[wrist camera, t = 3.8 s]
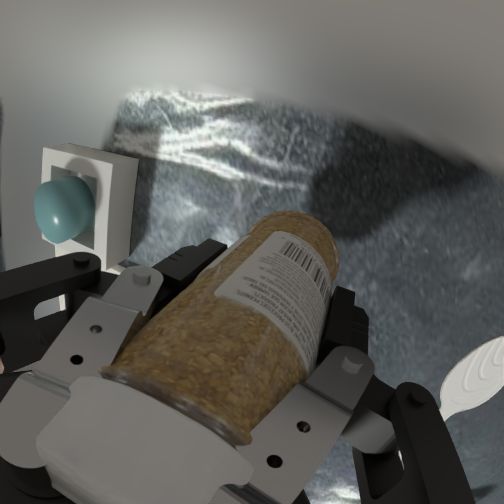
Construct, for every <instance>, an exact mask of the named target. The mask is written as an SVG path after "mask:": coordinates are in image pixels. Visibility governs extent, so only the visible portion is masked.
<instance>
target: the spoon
mask: <svg viewBox="0 0 504 504" xmlns="http://www.w3.org/2000/svg"><path fill="white" fill-rule="evenodd" d="M502 386H504V335H503V336H499V337H496V338H494V339H491V340H490V341H487V342H485V343H484V344H482V345H480V346H479V347H477V348H476V349H475V350H473V351H472V352H470V353H469V354H468V355H467V356H465V357H464V358H463V359H462V360H461V361H460V362H458V363H457V365H456V366H455V367H454V368H453V369H452V370H451V371H450V372H449V374H448V376H447V377H446V378H445V380H444V382H443V384H442V387H441V391H440V399H441V402H442V405H441V408H440V409H439V411H440V413H441V415H442V417H443V420H444V422H445V420H446V419H448V418H449V417H450V416H451V415H453V414H454V413H455V412H459V411H464V410H468V409H471V408H474V407H476V406H479V405H481V404H483V403H484V402H485V401H488V399H490V398H491V397H492V396H494V394H496V393H497V392H498V391H499V390H500V389H501V388H502ZM399 456H400V459H402V457H401V453H400V451H399Z"/></svg>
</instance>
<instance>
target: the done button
mask: <svg viewBox="0 0 504 504" xmlns="http://www.w3.org/2000/svg"><path fill="white" fill-rule="evenodd" d="M34 211H35V217H36V220H37V223H38V226H39V228H40V230H41V232H42V233H43V235H44V236H45V237H46V238H47V239H48V240H49V241H51V242H53V243H56V244H60V243H63V242H65V241H67V240H69V239H71V238H74V237H76V236H78V235H80V234H82V233H85V232H87V231H88V230H89V229H90V228H91V226H92V224H93V221H94V217H95V203H94V199H93V195H92V192H91V190H90V188H89V187H88V185H87V184H86V183H85V181H84V180H82V179H81V178H80V177H77V176H67V177H63V178H59V179H55V180H52V181H48V182H44V183H42V184H41V185H40V186H39V188H38V189H37V192H36V194H35V199H34Z"/></svg>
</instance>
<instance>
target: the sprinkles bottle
mask: <svg viewBox="0 0 504 504" xmlns="http://www.w3.org/2000/svg"><path fill="white" fill-rule="evenodd" d="M338 269H339V251H338V248H337V246H336V242H335V240H334V238H333V237H332V235H331V233H330V231H329V230H328V229H327V228H326V227H325V226H324V225H323V224H322V223H321V222H320V221H319V220H317V219H315V218H314V217H312V216H309V215H307V214H304V213H301V212H298V211H278V212H275V213H272V214H270V215H268V216H265V217H264V218H262V219H261V220H260V221H259V222H258V223H257V224H255V225H254V226H253V227H252V228H251V230H250V231H249V233H248V234H247V235H246V236H245V237H243V238H241V239H239V240H238V241H237V242H235V243H234V244H233V245H231V246H230V247H229V248H228V249H227V250H226V251H224V252H223V253H222V254H221V255H220V256H219V257H217V258H216V259H215V260H214V261H213V262H212V263H211V264H209V265H208V266H207V267H206V268H205V269H204V270H203V271H202V272H201V273H200V274H199V275H198V276H197V277H196V279H195V280H194V282H193V283H192V284H190V285H189V286H188V287H187V288H186V289H185V290H183V291H182V292H181V293H180V294H179V295H178V296H177V297H175V298H174V299H173V300H172V301H171V302H170V303H169V304H168V305H167V306H166V307H164V308H163V309H162V310H161V311H160V312H159V313H158V314H156V315H155V316H154V317H153V318H152V319H151V320H150V321H149V322H148V323H147V324H146V325H145V326H144V327H143V328H142V329H141V330H139V331H138V332H137V334H136V335H135V336H133V337H132V339H131V340H130V342H129V343H128V344H127V345H126V346H125V347H124V349H123V352H122V354H121V355H120V356H118V358H117V359H116V360H115V362H114V364H113V365H110V366H103V367H101V368H99V369H98V372H99V373H100V375H101V376H102V377H103V378H104V379H103V378H98V377H94V376H86V377H79V378H77V379H76V380H75V381H74V382H73V383H72V384H71V385H70V387H69V390H70V391H71V397H70V399H69V401H68V402H67V403H66V404H65V406H64V407H63V408H62V409H61V410H60V411H59V412H58V413H57V414H56V415H55V416H54V418H53V419H52V420H51V421H50V422H49V423H48V424H47V425H46V426H45V428H44V429H43V430H42V431H41V432H40V433H39V435H38V436H37V438H36V448H37V451H38V453H39V455H40V456H41V458H42V459H43V461H44V462H45V463H46V464H47V466H46V469H47V472H48V474H49V476H50V478H51V480H52V487H53V488H54V489H56V490H57V491H59V492H60V493H61V494H63V495H64V496H66V497H67V498H69V499H70V500H72V501H73V502H75V503H76V504H208V503H209V502H210V500H211V499H212V497H213V495H214V493H215V492H216V490H217V489H218V488H219V487H220V486H222V485H225V484H237V485H245V484H247V483H248V482H249V480H250V478H251V476H252V473H253V471H254V468H253V465H252V464H251V463H250V462H249V461H248V460H247V459H246V458H245V457H243V456H242V455H241V454H240V453H239V452H238V451H237V450H236V447H235V446H237V445H239V446H246V445H250V444H251V442H252V440H253V438H252V436H251V434H250V432H251V431H252V430H253V429H254V428H255V427H256V426H257V425H258V424H259V423H260V422H261V421H262V420H263V419H264V418H265V417H266V416H267V415H268V414H269V413H270V412H271V411H272V410H273V409H274V408H275V407H276V406H277V405H278V404H279V403H280V402H281V401H282V400H283V399H284V397H285V396H286V395H287V394H288V393H289V392H290V391H291V390H292V389H293V388H294V387H295V386H296V385H297V384H298V383H299V382H300V381H304V382H306V381H307V380H308V378H309V377H310V376H311V375H312V374H313V372H314V368H315V364H316V360H317V356H318V352H319V348H320V344H321V340H322V336H323V332H324V328H325V324H326V319H327V315H328V310H329V306H330V301H331V290H332V284H333V281H334V280H335V278H336V276H337V273H338Z"/></svg>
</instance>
